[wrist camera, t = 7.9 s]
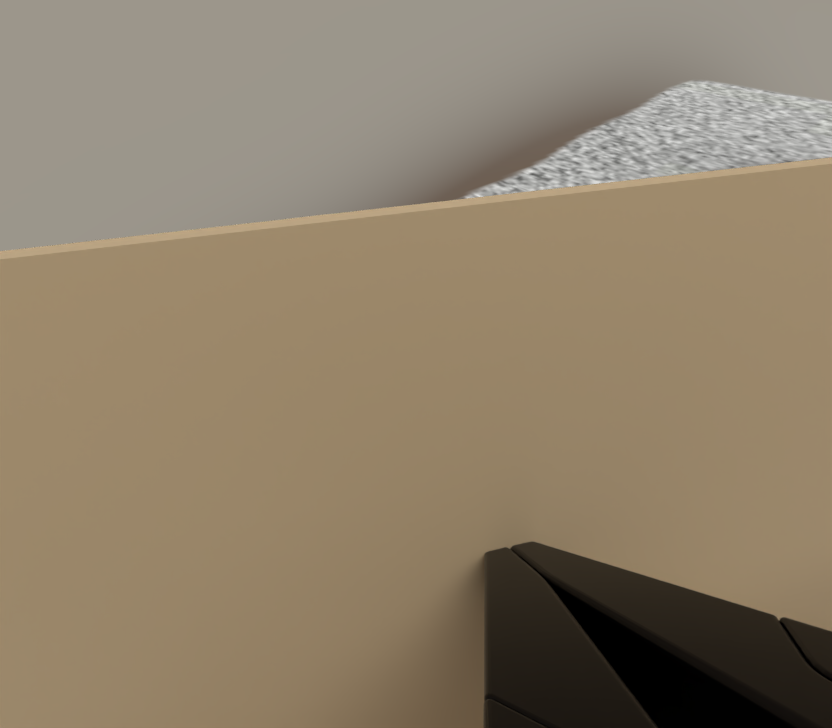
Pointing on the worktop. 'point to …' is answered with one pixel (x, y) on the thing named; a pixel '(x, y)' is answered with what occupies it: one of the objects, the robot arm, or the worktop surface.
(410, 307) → the mailer lid
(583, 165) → the worktop surface
